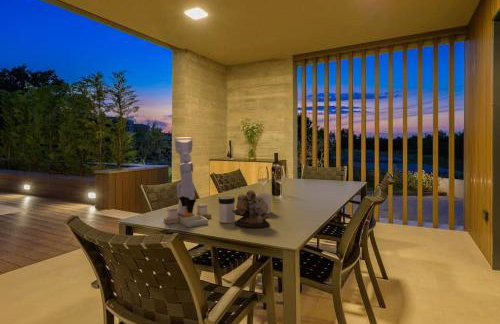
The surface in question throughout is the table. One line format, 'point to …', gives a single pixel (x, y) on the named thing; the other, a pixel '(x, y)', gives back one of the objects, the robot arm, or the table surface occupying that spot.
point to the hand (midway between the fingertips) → (187, 211)
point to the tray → (194, 221)
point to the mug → (266, 200)
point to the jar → (226, 209)
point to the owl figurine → (251, 211)
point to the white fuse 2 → (202, 209)
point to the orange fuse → (186, 212)
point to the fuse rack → (183, 217)
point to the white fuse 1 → (172, 213)
